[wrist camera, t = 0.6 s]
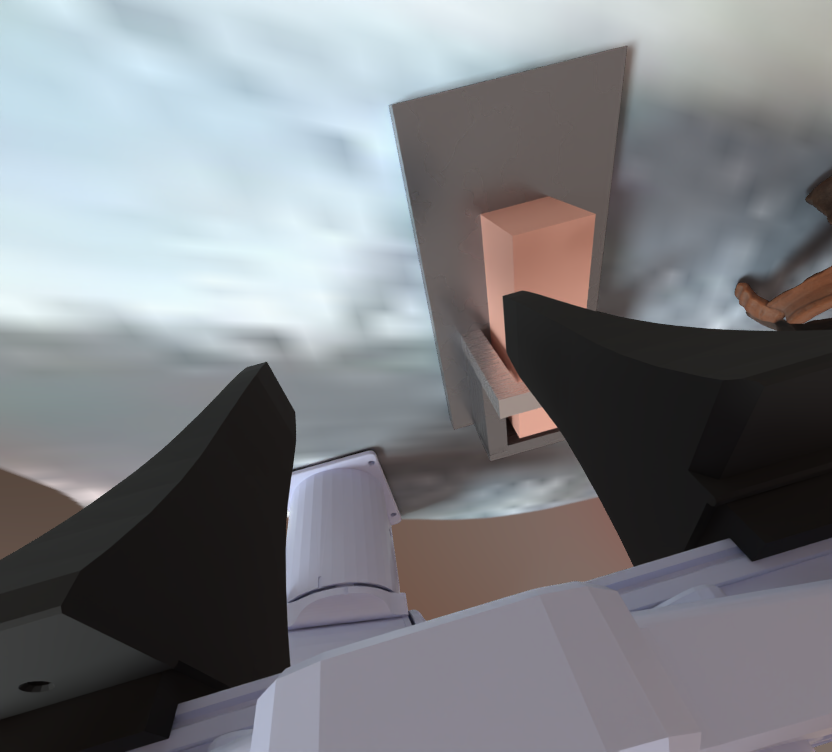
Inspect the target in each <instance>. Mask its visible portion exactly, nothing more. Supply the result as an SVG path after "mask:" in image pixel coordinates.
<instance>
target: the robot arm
mask: <svg viewBox="0 0 832 752" xmlns="http://www.w3.org/2000/svg"><path fill="white" fill-rule="evenodd" d="M502 297H503V312H504V326H505V340H506V353H507V355H508V357H509V358H510V360H511V362H512V364H513V366H514V368H515V370H516V372H517V373H518V375H519V377H520V378H521V380H522V381H523V382H524V384H525V385H526V386H527V388H528V389H529V390H530V392H531V393H532V395H533V396H534V397H535V399H536V400H537V401H538V402H539V404H540V405H541V406H542V408H543V409H544V410H545V412H546V413H547V414H548V416H549V417H550V418H551V420H552V421H553V422H554V424H555V425H556V426H557V428H558V429H559V430H560V432H561V433H562V435H563V436H564V438H565V439H566V441H567V442H568V444H569V446H570V448H571V449H572V451H573V453H574V454H575V456H576V458H577V459H578V461H579V463H580V465H581V466H582V468H583V470H584V472H585V473H586V475H587V477H588V479H589V481H590V482H591V484H592V486H593V488H594V490H595V491H596V493H597V495H598V497H599V499H600V500H601V502H602V504H603V506H604V508H605V510H606V512H607V514H608V515H609V517H610V520H611V521H612V523H613V525H614V527H615V529H616V531H617V533H618V535H619V537H620V539H621V541H622V543H623V545H624V547H625V549H626V551H627V553H628V556H629V558H630V560H631V562H632V564H633V566H634V567H632V568H629V569H625V570H622V571H619V572H615V573H612V574H608V575H605V576H602V577H598V578H595V579H592V580H589V581H586V582H579V581H574V582H569V583H563V584H558V585H552V586H547V587H541V588H536V589H532V590H528V591H525V592H522V593H519V594H515V595H512V596H509V597H505V598H502V599H499V600H495V601H492V602H489V603H485V604H482V605H479V606H476V607H472V608H469V609H465V610H462V611H459V612H455V613H452V614H449V615H446V616H442V617H439V618H435V619H432V620H429V621H426V620H425V619H424V618H423V617H422V615H421V614H420V613H419V612H418V611H417V610H410V611H408V608H407V600H406V594H405V593H400V587H399V579H398V572H397V566H396V558H395V551H394V543H393V536H392V529H391V525H394V524H397V523H399V522H401V515H400V512H399V510H398V507H397V505H396V502H395V500H394V497H393V495H392V493H391V490H390V488H389V485H388V483H387V480H386V478H385V475H384V473H383V470H382V468H381V465H380V463H379V460H378V458H377V455H376V453H375V452H374V451H365V452H362V453H358V454H355V455H351V456H347V457H344V458H340V459H337V460H333V461H330V462H326V463H322V464H319V465H315V466H312V467H308V468H305V469H301V470H297V471H294V472H292V469H293V462H294V454H295V445H296V419H295V411H294V409H293V407H292V406H291V404H290V402H289V400H288V399H287V397H286V395H285V393H284V391H283V390H282V388H281V386H280V384H279V383H278V381H277V379H276V377H275V376H274V374H273V372H272V370H271V368H270V367H269V365H268V363H267V362H264V363H261V364H257V365H254V366H250V367H247V368H245V369H244V370H243V371H242V372H240V373H239V374H238V375H237V376H236V377H235V378H234V379H233V380H232V381H231V382H230V383H229V384H228V385H227V386H226V387H225V388H224V389H223V390H222V391H221V392H220V394H219V395H218V396H217V397H216V398H215V399H214V400H213V401H212V402H211V403H210V404H209V405H208V406H207V407H206V408H205V409H204V410H203V411H202V412H201V413H200V414H199V415H198V416H197V417H196V418H195V419H194V420H193V421H192V422H191V423H190V424H189V425H188V426H187V427H186V428H185V429H184V430H183V431H182V432H181V433H179V434H178V435H177V436H176V437H175V438H174V439H173V440H172V441H171V442H170V443H169V444H168V445H167V446H165V447H164V448H163V449H162V450H161V451H160V452H158V453H157V454H156V455H155V456H154V457H152V458H151V459H150V460H149V461H148V462H146V463H145V464H144V465H143V466H141V467H140V468H139V469H138V470H136V471H135V472H134V473H133V474H131V475H130V476H129V477H127V478H126V479H124V480H123V481H122V482H120V483H119V484H118V485H116V486H115V487H113V488H112V489H111V490H109V491H108V492H107V493H105V494H104V495H102V496H101V497H100V498H98V499H97V500H96V501H94V502H93V503H91V504H90V505H88V506H87V507H85V508H84V509H82V510H81V511H79V512H78V513H77V514H75V515H73V516H72V517H70V518H69V519H67V520H66V521H64V522H63V523H61V524H59V525H58V526H56V527H55V528H53V529H51V530H50V531H48V532H47V533H45V534H43V535H42V536H41V537H39V538H37V539H35V540H34V541H32V542H31V543H29V544H27V545H25V546H24V547H22V548H20V549H19V550H17V551H15V552H13V553H12V554H10V555H8V556H6V557H5V558H3V559H1V560H0V752H816V751H815V750H814V748H813V747H817V746H820V745H822V744H826V743H829V742H832V330H807V331H747V330H722V329H705V328H695V327H684V326H674V325H666V324H658V323H652V322H646V321H640V320H634V319H628V318H623V317H618V316H614V315H610V314H606V313H602V312H597V311H593V310H590V309H586V308H582V307H579V306H576V305H572V304H569V303H565V302H562V301H559V300H556V299H553V298H549V297H546V296H543V295H539V294H536V293H532V292H528V291H523V290H522V291H518V292H515V293H511V294H508V295H504V296H502ZM370 461H371V462H370ZM287 510H288V511H289V512H290V513H289V522H288V531H287V540H286V519H287Z"/></svg>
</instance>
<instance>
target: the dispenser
mask: <svg viewBox="0 0 832 752" xmlns="http://www.w3.org/2000/svg"><path fill="white" fill-rule="evenodd" d="M626 52H627V46H624V47H620V48H615V49H611V50H607V51H603V52H599V53H595V54H591V55H587V56H583V57H579V58H575V59H571V60H567V61H564V62H560V63H556V64H552V65H548V66H544V67H540V68H536V69H532V70H528V71H524V72H520V73H516V74H512V75H508V76H504V77H500V78H496V79H492V80H488V81H484V82H480V83H476V84H472V85H468V86H464V87H460V88H456V89H452V90H448V91H444V92H440V93H436V94H432V95H428V96H425V97H421V98H417V99H413V100H409V101H405V102H401V103H397V104H393V105H389V109H390V114H391V119H392V125H393V130H394V135H395V140H396V145H397V150H398V155H399V160H400V165H401V170H402V175H403V181H404V186H405V191H406V196H407V201H408V206H409V211H410V216H411V221H412V226H413V231H414V237H415V242H416V247H417V252H418V257H419V262H420V267H421V272H422V277H423V282H424V288H425V293H426V298H427V303H428V308H429V313H430V318H431V323H432V328H433V333H434V338H435V344H436V349H437V354H438V359H439V364H440V369H441V374H442V379H443V384H444V389H445V394H446V400H447V405H448V410H449V415H450V420H451V423H452V425H453V428H454V429H458V428H462V427H465V426H469V425H472V424H474V426H475V428H476V431H477V433H478V435H479V437H480V439H481V442H482V444H483V446H484V448H485V450H486V453H487V455H488V457H489V459H490V461H493V460H497V459H500V458H504V457H507V456H511V455H514V454H518V453H521V452H525V451H528V450H532V449H535V448H539V447H543V446H546V445H550V444H553V443H557V442H560V441H564V440H566V439H565V438H564V436H563V435H562V433H561V432H560V430H559V429H558V428H554V429H551V430H547V431H543V432H540V433H536V434H533V435H529V436H526V437H522V438H519V436H518V434H517V433H516V431H515V429H514V427H513V426H512V424H511V422H510V420H509V419H508V417H509V416H512V415H516V414H520V413H523V412H527V411H530V410H534V409H537V408H541V407H542V406H541V405H540V404H539V402H538V401H537V400H536V399H535V397H534V396H533V395H532V393H531V392H530V390H529V389H528V388H527V386H526V385H525V384H524V382H523V381H522V382H519V383H517V382H516V381H515V380H514V378H513V377H512V375H511V374H510V372H509V371H508V369H507V368H506V366H505V365H504V363H503V362H502V361H501V359H500V358H499V356H498V355H497V353H496V352H495V350H494V349H493V347H492V346H491V334H490V322H489V310H488V299H487V287H486V275H485V264H484V252H483V240H482V228H481V217H480V214H483V213H487V212H491V211H494V210H498V209H502V208H506V207H510V206H513V205H517V204H521V203H525V202H529V201H533V200H536V199H540V198H544V197H548V196H549V197H552V198H555V199H557V200H560V201H563V202H565V203H568V204H571V205H573V206H576V207H579V208H581V209H584V210H587V211H589V212H592V213H595V214H596V217H595V227H594V237H593V247H592V258H591V268H590V278H589V289H588V299H587V309H590V310H593V311H596V310H597V302H598V293H599V285H600V276H601V267H602V259H603V250H604V242H605V233H606V224H607V216H608V207H609V198H610V190H611V181H612V173H613V164H614V155H615V147H616V138H617V130H618V121H619V112H620V104H621V95H622V87H623V78H624V69H625V61H626Z"/></svg>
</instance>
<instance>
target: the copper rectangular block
mask: <svg viewBox="0 0 832 752" xmlns="http://www.w3.org/2000/svg"><path fill="white" fill-rule="evenodd" d="M480 217H481V228H482V240H483V252H484V264H485V275H486V287H487V299H488V310H489V322H490V334H491V346H492V347H493V349H494V350H495V352H496V353H497V355H498V356H499V358H500V359H501V361H502V362H503V363H504V365H505V366H506V368H507V369H508V371H509V372H510V374H511V375H512V377H513V378H514V380H515V381H516V382H517V383H519V382H522V380H521V378H520V377H519V375H518V373H517V372H516V370H515V368H514V366H513V364H512V362H511V360H510V358H509V357H508V355H507V353H506V340H505V326H504V312H503V297H502V296H504V295H508V294H511V293H515V292H518V291H522V290H523V291H528V292H532V293H536V294H539V295H543V296H546V297H549V298H553V299H556V300H559V301H562V302H565V303H569V304H572V305H576V306H579V307H582V308H586V309H587V299H588V289H589V278H590V268H591V258H592V247H593V237H594V227H595V217H596V214H595V213H592V212H589V211H587V210H584V209H581V208H579V207H576V206H573V205H571V204H568V203H565V202H563V201H560V200H557V199H555V198H552V197H549V196H548V197H544V198H540V199H536V200H533V201H529V202H525V203H521V204H517V205H513V206H510V207H506V208H502V209H498V210H494V211H491V212H487V213H483V214H480ZM508 419H509V420H510V422H511V424H512V426H513V427H514V429H515V431H516V433H517V434H518V436H519V438H522V437H526V436H529V435H533V434H536V433H540V432H543V431H547V430H551V429H554V428H557V426H556V425H555V424H554V422H553V421H552V420H551V418H550V417H549V416H548V414H547V413H546V412H545V410H544V409H543V408H542V407H541V408H537V409H534V410H530V411H527V412H523V413H520V414H516V415H512V416H509V417H508Z"/></svg>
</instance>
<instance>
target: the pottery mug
mask: <svg viewBox="0 0 832 752" xmlns="http://www.w3.org/2000/svg"><path fill="white" fill-rule="evenodd" d="M805 200H806V202H808V203H809V204H811V205H813V206H814V207H816V208H817V209H818V210H819V211H820V212H822V213H823V214H824V215H825V216H827V220H828V222H829V223H830V224H831V225H832V177H829V178H827V179H826V180H824V181H823V182H822V183H820V184H819V185H818V186H817V187H816V188H815V189H813V190H812V191H811V192H810V193H809V195H808V196H807V197H806V199H805ZM735 296H736V297H737V298H738V299H739V304H740V305H741V306H743V307H744V308H745V310H746V311H747V312H746V314H747V315H748V316H749V317H750V318H752V319H754V320H755V321H757V322H759V323H760V324H762V325H764V326H766V327H769V328H771V329H774V330H777V331H807V330H832V318H828V319H822V320H813V321H810V322H807V321H808V320H810V319H812V318H813V317H815V316H816V315H818V314H820V313H822V312H824V311H826V310H828V309H830V308H832V266H831V267H829V268H827V269H825V270H823V271H821V272H819V273H816V274H814V275H812V276H811V277H809V278H807V279H806V280H805V281H804V282H803V283H802V284H800V285H798V286H796V287H795V288H792V289H790V290H787V291H785V292H783V293H782V294H780V295H779V296H777V297H775V298H774V299H773V300H771V301H770V302H769V301H768V300H766V299H764V298H762V297H760V296H758V295H757V294H756V293H755V292H754V290H752V289H751V287H750V285H748V284H747V283H738V285H737V287H736V289H735ZM785 316H786V320H787V321H786V320H784V319H783V318H784V317H785ZM805 322H807V323H805ZM802 323H805V324H802Z"/></svg>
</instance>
